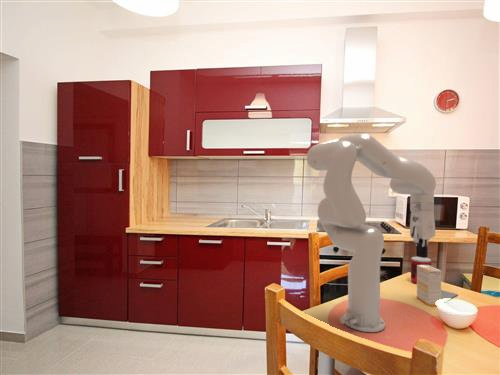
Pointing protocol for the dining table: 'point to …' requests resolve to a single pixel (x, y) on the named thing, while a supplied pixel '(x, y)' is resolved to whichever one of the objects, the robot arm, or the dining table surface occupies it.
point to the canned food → (414, 263)
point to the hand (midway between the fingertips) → (421, 256)
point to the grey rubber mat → (447, 294)
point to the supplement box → (428, 284)
